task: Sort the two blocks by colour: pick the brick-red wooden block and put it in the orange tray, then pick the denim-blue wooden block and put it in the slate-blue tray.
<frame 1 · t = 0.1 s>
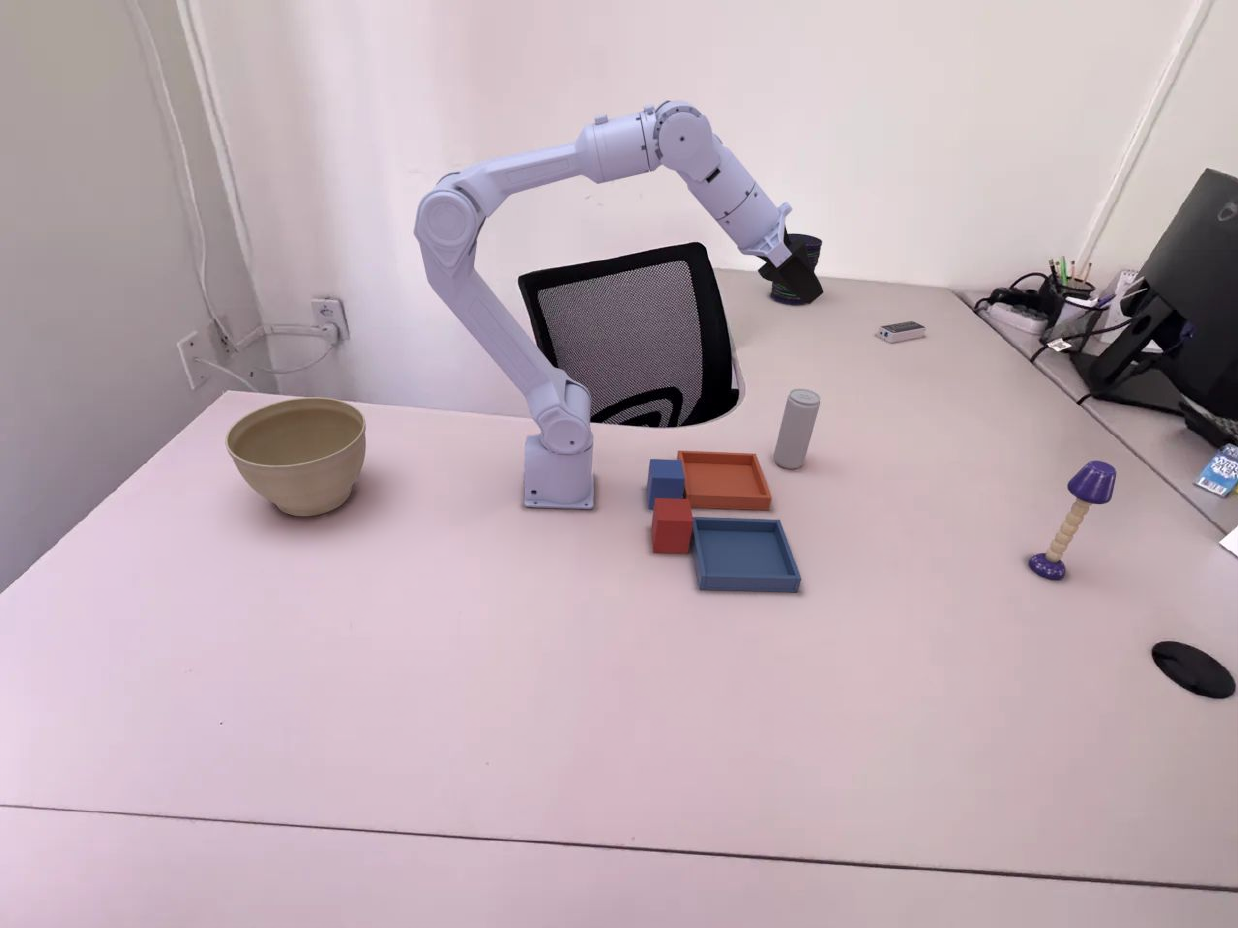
hand: (806, 285, 77), 32 cm above the table, tool tilted 50°, fingers open, 7 cm apart
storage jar: (788, 299, 167), on the table
beverage can: (787, 463, 104), on the table
red block: (668, 541, 86), on the table
multiport hub: (899, 337, 151), on the table
planter bowl: (314, 497, 89), on the table
orange tray: (720, 485, 97), on the table
blue block: (662, 499, 93), on the table
toy lamp: (1042, 569, 87), on the table
blue tray: (740, 559, 84), on the table
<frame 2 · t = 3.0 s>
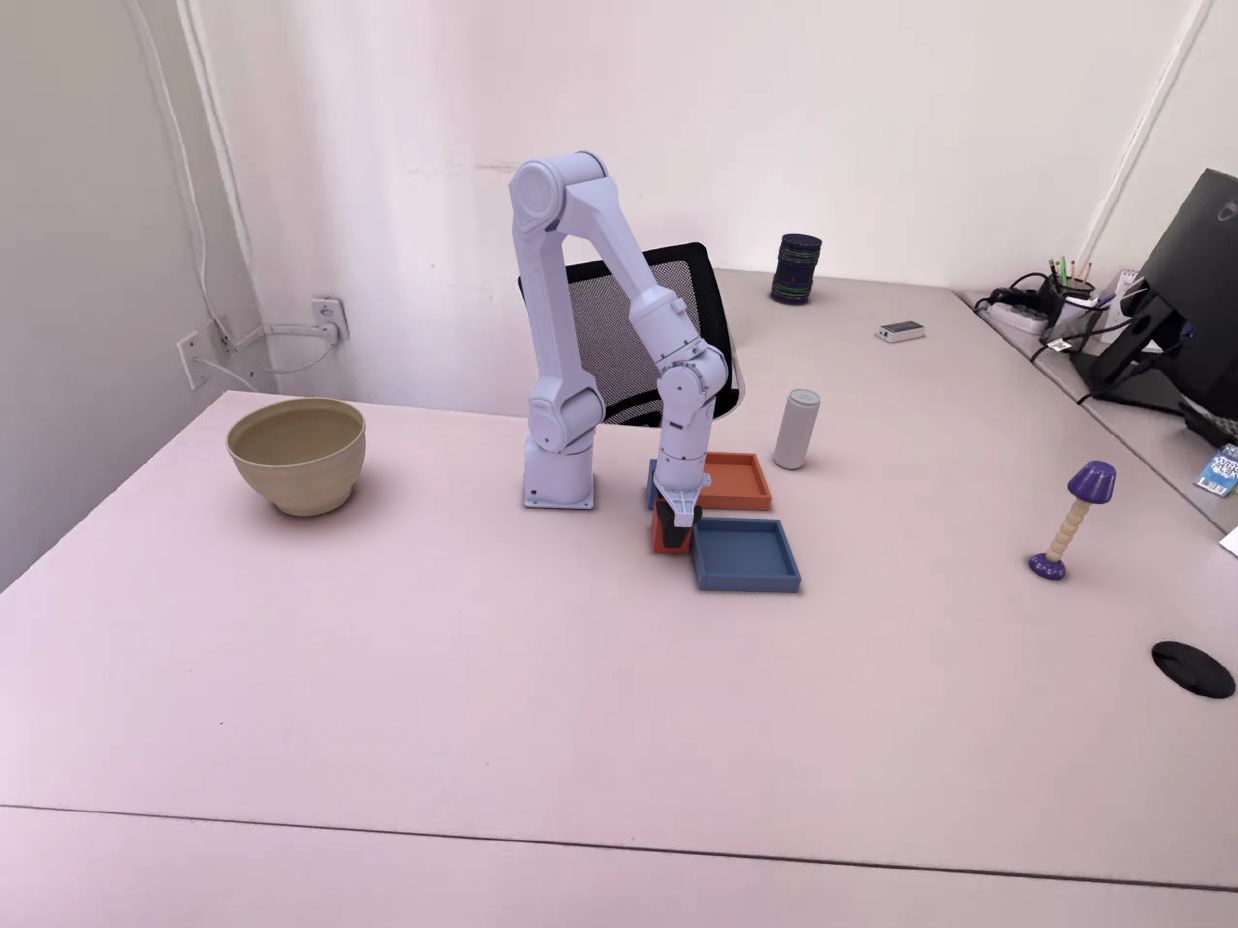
hand: (670, 533, 85), 1 cm above the table, tool pointing down, fingers closed on red block, 4 cm apart
red block: (668, 541, 86), on the table, touching gripper
everything else where it was.
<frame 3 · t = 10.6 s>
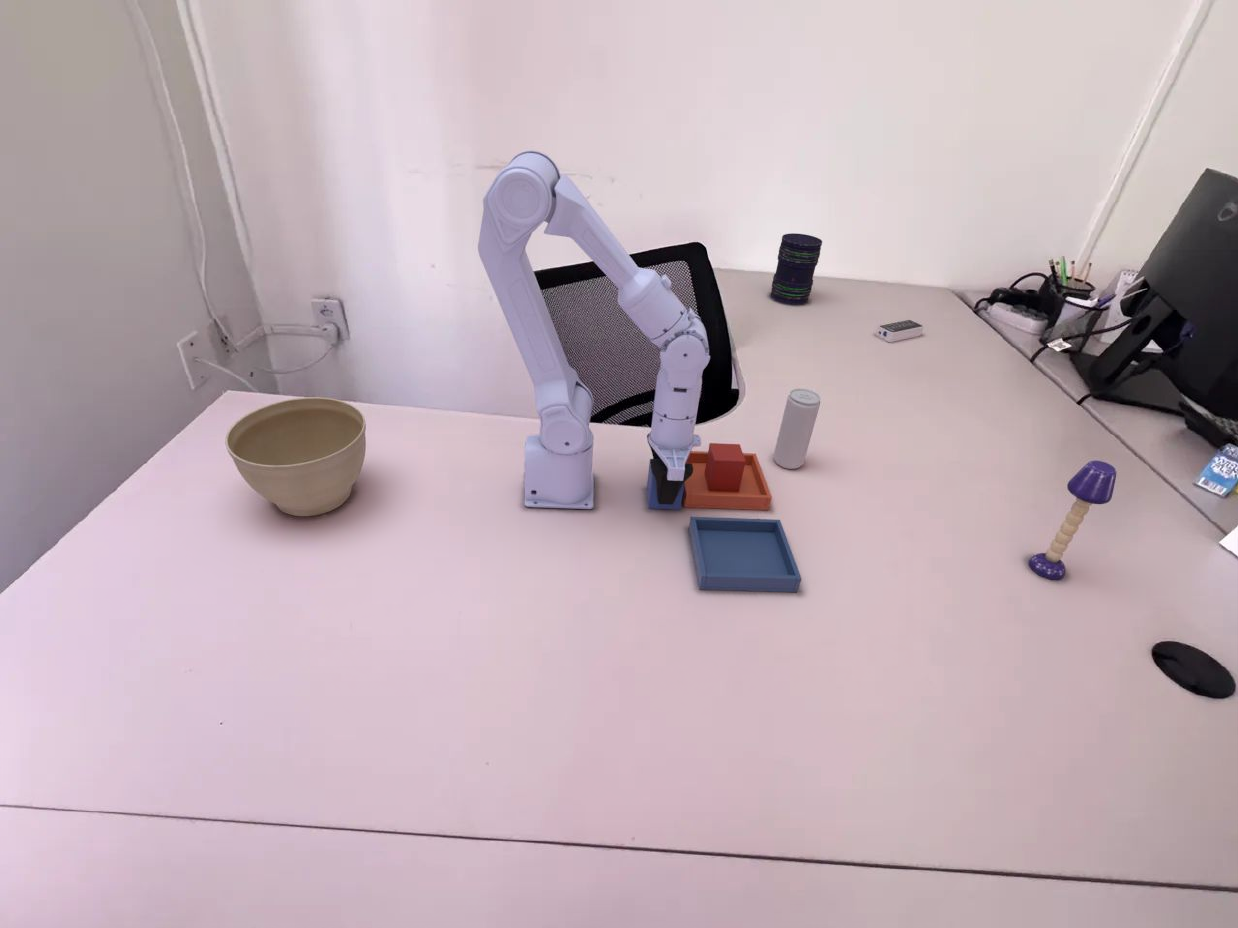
hand: (664, 491, 93), 1 cm above the table, tool pointing down, fingers closed on blue block, 4 cm apart
red block: (721, 482, 97), resting on orange tray
blue block: (662, 499, 93), on the table, touching gripper
everything else where it was.
when the fingers open (2 cm above the table, at t = 15.0 s): blue block stays where it is, resting on blue tray.
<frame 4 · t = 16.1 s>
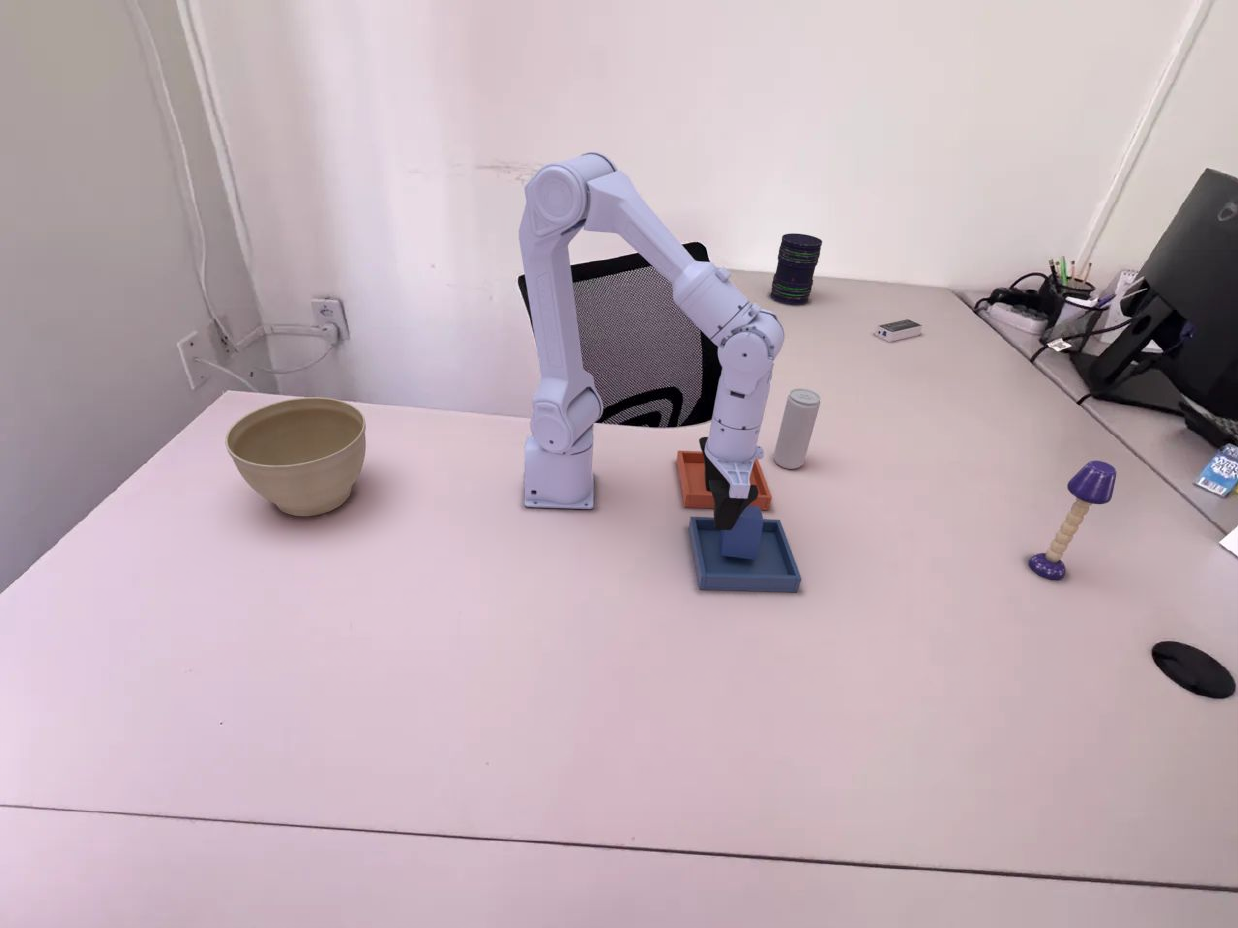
hand: (718, 508, 83), 6 cm above the table, tool pointing down, fingers open, 7 cm apart
blue block: (737, 550, 84), point 1 cm above the table, tilted 17°, touching blue tray
everything else where it was.
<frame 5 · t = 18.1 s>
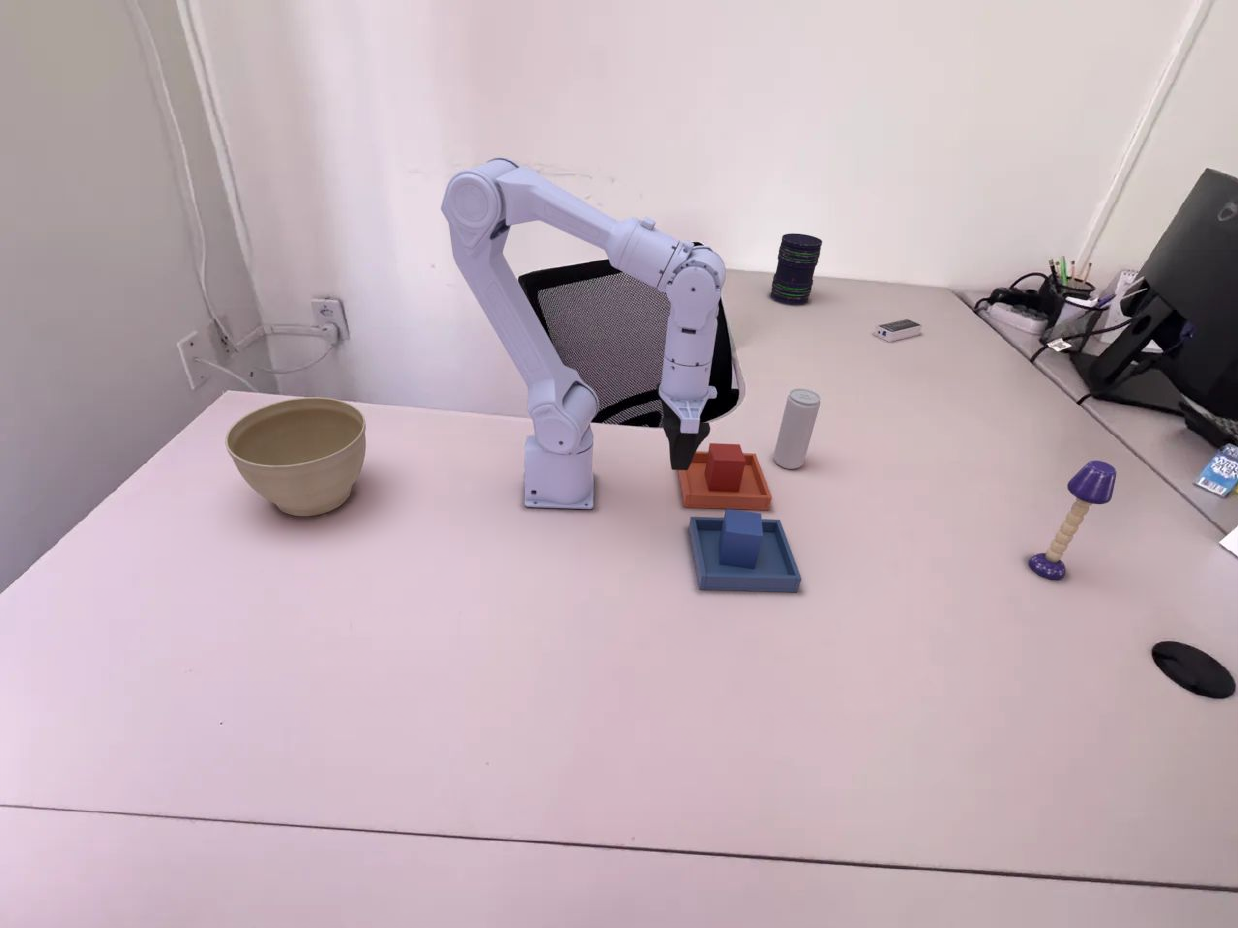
hand: (676, 451, 85), 10 cm above the table, tool pointing down, fingers open, 7 cm apart
blue block: (736, 554, 84), resting on blue tray
everything else where it was.
at the end: red block inside the target area in the orange tray (0.1 cm from its centre), point 0.5 cm above the orange tray's base; blue block inside the target area in the blue tray (0.6 cm from its centre), point 0.5 cm above the blue tray's base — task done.
